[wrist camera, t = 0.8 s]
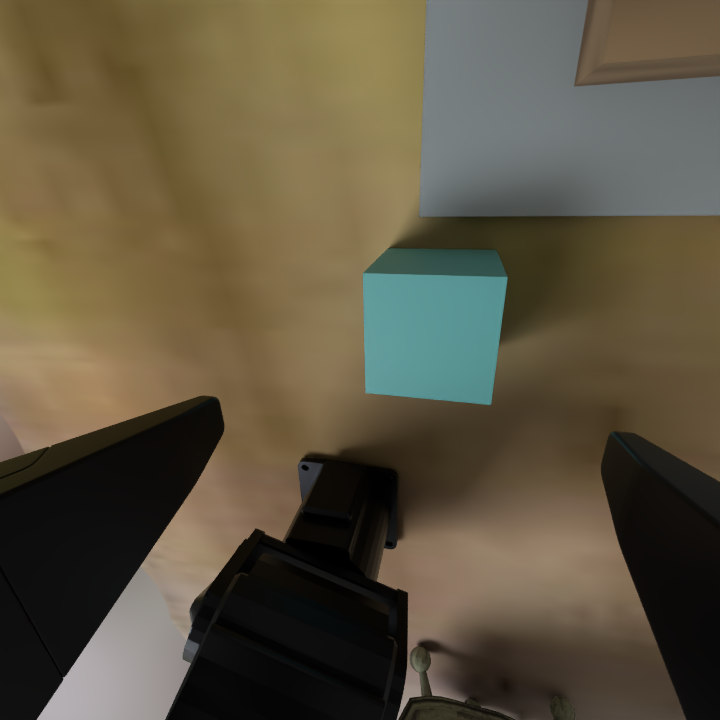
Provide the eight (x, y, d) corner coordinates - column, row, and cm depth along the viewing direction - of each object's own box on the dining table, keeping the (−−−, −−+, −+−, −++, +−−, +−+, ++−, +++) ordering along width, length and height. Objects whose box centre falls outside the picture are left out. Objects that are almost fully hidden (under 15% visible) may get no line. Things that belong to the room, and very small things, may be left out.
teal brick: (484, 349, 20) (490, 404, 16) (388, 343, 21) (365, 392, 17) (496, 249, 18) (507, 277, 13) (388, 248, 19) (363, 273, 15)
